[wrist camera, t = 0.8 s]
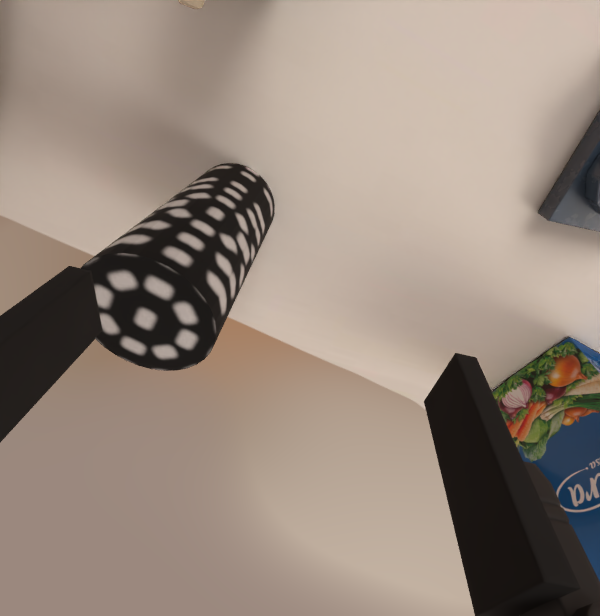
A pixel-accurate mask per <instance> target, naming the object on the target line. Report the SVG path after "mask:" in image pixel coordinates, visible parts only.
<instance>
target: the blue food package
mask: <svg viewBox="0 0 600 616" xmlns="http://www.w3.org/2000/svg"><path fill="white" fill-rule="evenodd" d="M492 394H493V396H494V398H495V400H496V403H497V405H498V407H499V409H500V411H501V414H502V416H503V418H504V420H505V422H506V425H507V427H508V429H509V431H510V433H511V436H512V438H513V440H514V442H515V444H516V447H517V449H518V451H519V453H520V455H521V458H522V460H523V461H524V462H529V463H534V464H536V465H537V467H538V468H539V469H540V470H541V472H542V473H543V474H544V475H545V476H546V478H547V479H548V480H549V481H550V483H551V484H552V486H553V488H554V490H555V492H556V494H557V497H558V499H559V501H560V503H561V504H560V506H561V507H563V509H564V511H565V513H566V515H567V517H568V519H569V524H570V525H572V527H573V529H574V531H575V533H576V535H577V537H578V539H579V541H580V543H581V545H582V547H583V549H584V551H585V553H586V555H587V557H588V559H589V561H590V563H591V565H592V567H593V569H594V571H595V573H596V575H597V577H598V579H599V581H600V354H599V353H597V352H595V351H594V350H592V349H590V348H588V347H587V346H585V345H583V344H582V343H580V342H578V341H576V340H575V339H573V338H571V337H568V338H567V339H566V340H564V341H563V342H561V343H560V344H558V345H556V346H555V347H553V348H551V349H550V350H548V351H547V352H546V353H544V354H543V355H542V356H540V357H539V358H538V359H536V360H535V361H533V362H532V363H530V364H529V365H527V366H526V367H524V368H523V369H521V370H520V371H518V372H517V373H515V374H514V375H512V376H511V377H510V378H509V379H508V380H506V381H505V382H504V383H503V384H502V385H501V386H499V387H498V388H497V389H496V390H494V391H493V392H492Z"/></svg>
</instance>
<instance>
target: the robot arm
mask: <svg viewBox="0 0 600 616" xmlns="http://www.w3.org/2000/svg"><path fill="white" fill-rule="evenodd" d="M102 331H103V329H102V324H101V319H100V314H99V309H98V303H97V298H96V293H95V288H94V283H93V278H92V272H91V271H89V270H85V269H80V268H76V267H72V266H68V267H67V268H66V269H64V270H63V271H62V272H60V273H59V274H58V275H56V276H55V277H54V278H52V279H51V280H49V281H48V282H47V283H45V284H44V285H42V286H41V287H39V288H38V289H37V290H35V291H34V292H33V293H31V294H30V295H28V296H27V297H26V298H25V299H23V300H22V301H20V302H19V303H17V304H16V305H15V306H13V307H12V308H11V309H9V310H8V311H7V312H5V313H4V314H2V315H1V316H0V442H1V441H2V440H3V439H4V438H5V437H6V435H7V434H8V433H9V432H10V431H11V430H12V429H13V428H14V427H15V426H16V425H17V424H18V422H19V421H20V420H21V419H22V418H23V417H24V416H25V415H26V414H27V413H28V412H29V410H30V409H31V408H32V407H33V406H34V405H35V404H36V403H37V402H38V400H39V399H40V398H41V397H42V396H43V395H44V394H45V393H46V392H47V391H48V389H50V388H51V386H52V385H53V384H54V383H55V382H56V381H57V380H58V379H59V378H60V377H61V376H62V374H63V373H64V372H65V371H66V370H67V369H68V368H69V367H70V366H71V365H72V363H73V362H74V361H75V360H76V359H77V358H78V357H79V356H80V355H81V354H82V353H83V351H84V350H85V349H86V348H87V347H88V346H89V345H90V344H91V343H92V342H93V341H94V339H95V338H96V337H97V336H98V335H99V334H100V333H101V332H102ZM424 403H425V407H426V412H427V416H428V420H429V424H430V428H431V433H432V437H433V440H434V445H435V449H436V454H437V458H438V462H439V466H440V470H441V474H442V478H443V483H444V487H445V491H446V495H447V500H448V504H449V508H450V512H451V516H452V520H453V525H454V529H455V533H456V537H457V541H458V546H459V550H460V554H461V558H462V563H463V567H464V571H465V575H466V579H467V583H468V588H469V592H470V596H471V600H472V604H473V609H474V613H475V616H600V581H599V579H598V577H597V575H596V573H595V571H594V569H593V567H592V565H591V563H590V561H589V559H588V557H587V555H586V553H585V551H584V549H583V547H582V545H581V543H580V541H579V539H578V537H577V535H576V533H575V531H574V529H573V527H572V525H570V524H569V519H568V517H567V515H566V513H565V511H564V509H563V507H561V506H560V504H561V503H560V501H559V499H558V497H557V494H556V492H555V490H554V488H553V486H552V484H551V483H550V481H549V480H548V479H547V478H546V476H545V475H544V474H543V473H542V472H541V470H540V469H539V468H538V467H537V465H536V464H534V463H529V462H524V461H523V460H522V458H521V455H520V453H519V451H518V449H517V447H516V444H515V442H514V440H513V438H512V436H511V433H510V431H509V429H508V427H507V425H506V422H505V420H504V418H503V416H502V414H501V411H500V409H499V407H498V405H497V403H496V400H495V398H494V396H493V394H492V391H491V389H490V387H489V385H488V383H487V380H486V378H485V376H484V374H483V372H482V369H481V367H480V365H479V363H478V361H477V358H475V357H471V356H466V355H462V354H458V353H455V355H454V356H453V358H452V359H451V361H450V362H449V364H448V366H447V367H446V369H445V370H444V372H443V373H442V375H441V376H440V378H439V379H438V381H437V382H436V384H435V385H434V387H433V388H432V390H431V391H430V393H429V395H428V396H427V398H426V399H425V401H424Z"/></svg>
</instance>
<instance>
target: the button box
mask: <svg viewBox="0 0 600 616" xmlns="http://www.w3.org/2000/svg"><path fill="white" fill-rule="evenodd" d="M538 213H539V214H540V215H541V216H543V217H544V218H546V219H547V220H548V221H552V222H556V223H561V224H566V225H571V226H575V227H580V228H585V229H589V230H594V231H599V232H600V111H599V112H598V114H597V116H596V117H595V119H594V121H593V122H592V124H591V126H590V127H589V129H588V130H587V132H586V134H585V135H584V137H583V139H582V140H581V142H580V144H579V145H578V147H577V149H576V150H575V152H574V154H573V155H572V157H571V158H570V160H569V162H568V163H567V165H566V167H565V168H564V170H563V172H562V173H561V175H560V177H559V178H558V180H557V181H556V183H555V185H554V186H553V188H552V190H551V191H550V193H549V195H548V196H547V198H546V200H545V201H544V203H543V205H542V206H541V208H540V209H539V211H538Z"/></svg>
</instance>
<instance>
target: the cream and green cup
mask: <svg viewBox="0 0 600 616" xmlns="http://www.w3.org/2000/svg"><path fill="white" fill-rule="evenodd" d="M178 1H179V2H180V3H181V4H183V5H186V6H188V7H191V8H193V9H200V8H201V7H203V4H204V2H205V0H178Z"/></svg>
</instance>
